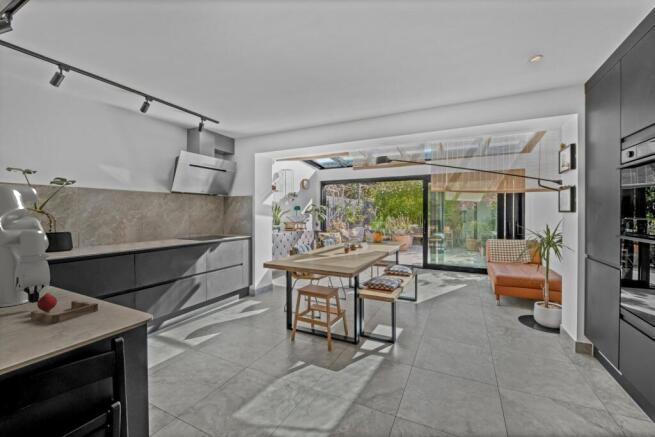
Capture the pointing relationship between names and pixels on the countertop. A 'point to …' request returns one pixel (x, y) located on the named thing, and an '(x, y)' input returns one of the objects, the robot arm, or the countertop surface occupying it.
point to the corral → (78, 310)
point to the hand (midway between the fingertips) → (33, 302)
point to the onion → (47, 302)
